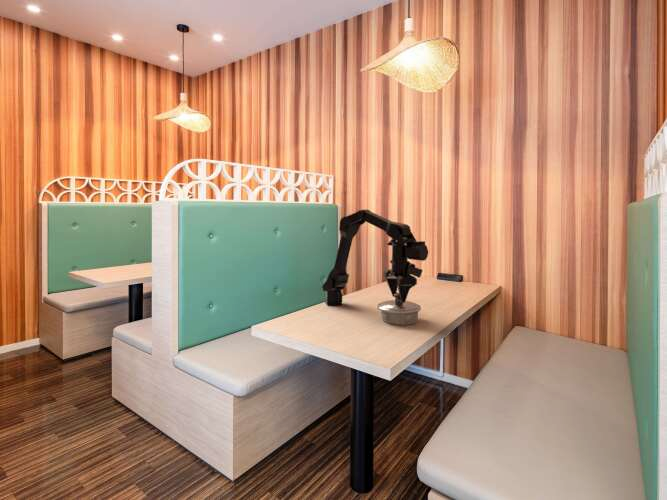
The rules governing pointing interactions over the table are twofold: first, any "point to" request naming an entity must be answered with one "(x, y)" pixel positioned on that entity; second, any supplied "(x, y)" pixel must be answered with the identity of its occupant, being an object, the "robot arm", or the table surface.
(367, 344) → the table surface
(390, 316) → the dish
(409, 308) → the lid
